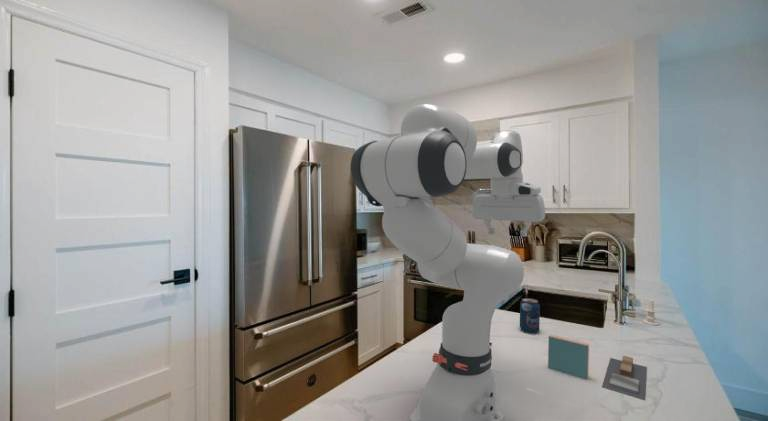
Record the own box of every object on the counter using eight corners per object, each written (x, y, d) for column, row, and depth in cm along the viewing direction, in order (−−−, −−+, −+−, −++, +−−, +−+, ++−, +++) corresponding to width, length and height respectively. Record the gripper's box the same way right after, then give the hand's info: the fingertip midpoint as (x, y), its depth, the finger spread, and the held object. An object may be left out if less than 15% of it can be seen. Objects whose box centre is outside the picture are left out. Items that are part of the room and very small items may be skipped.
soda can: (529, 335, 122) (530, 303, 122) (515, 329, 128) (516, 298, 128) (543, 333, 125) (544, 301, 124) (529, 326, 131) (529, 296, 131)
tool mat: (645, 402, 81) (645, 400, 81) (601, 389, 86) (601, 387, 86) (647, 369, 98) (647, 367, 98) (610, 359, 103) (610, 357, 103)
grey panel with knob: (638, 394, 83) (638, 385, 83) (609, 386, 87) (609, 377, 87) (640, 367, 97) (640, 359, 97) (615, 361, 101) (615, 353, 101)
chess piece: (662, 325, 134) (663, 300, 134) (649, 325, 134) (650, 300, 134) (652, 321, 139) (652, 296, 139) (639, 320, 139) (640, 296, 139)
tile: (587, 381, 90) (588, 345, 90) (547, 369, 97) (548, 336, 96) (588, 379, 92) (589, 343, 91) (549, 367, 98) (549, 334, 98)
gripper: (468, 189, 100) (469, 234, 101) (541, 188, 87) (540, 240, 89) (476, 188, 105) (477, 231, 106) (546, 187, 92) (546, 235, 93)
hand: (506, 235), depth 97 cm, fingers open, 8 cm apart
